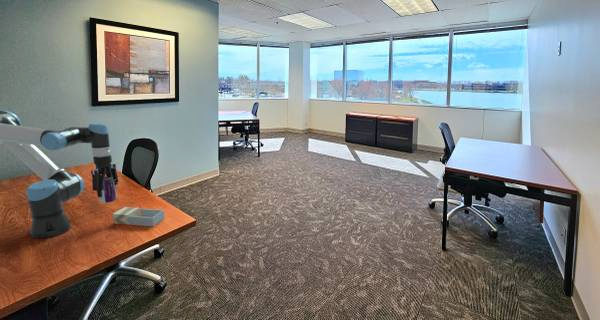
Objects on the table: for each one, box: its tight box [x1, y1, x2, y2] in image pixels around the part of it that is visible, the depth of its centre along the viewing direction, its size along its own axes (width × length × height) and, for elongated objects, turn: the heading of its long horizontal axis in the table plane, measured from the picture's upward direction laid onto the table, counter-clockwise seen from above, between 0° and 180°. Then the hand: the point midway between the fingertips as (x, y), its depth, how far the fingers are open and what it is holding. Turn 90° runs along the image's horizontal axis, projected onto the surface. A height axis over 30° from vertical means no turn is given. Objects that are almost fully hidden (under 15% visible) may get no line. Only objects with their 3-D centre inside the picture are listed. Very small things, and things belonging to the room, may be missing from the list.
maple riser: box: [112, 206, 141, 225], centre depth 163 cm, size 8×9×5 cm
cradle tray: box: [128, 208, 166, 227], centre depth 162 cm, size 13×10×4 cm
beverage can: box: [102, 176, 117, 204], centre depth 161 cm, size 7×7×12 cm
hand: (108, 199), depth 163 cm, fingers closed on beverage can, 7 cm apart
